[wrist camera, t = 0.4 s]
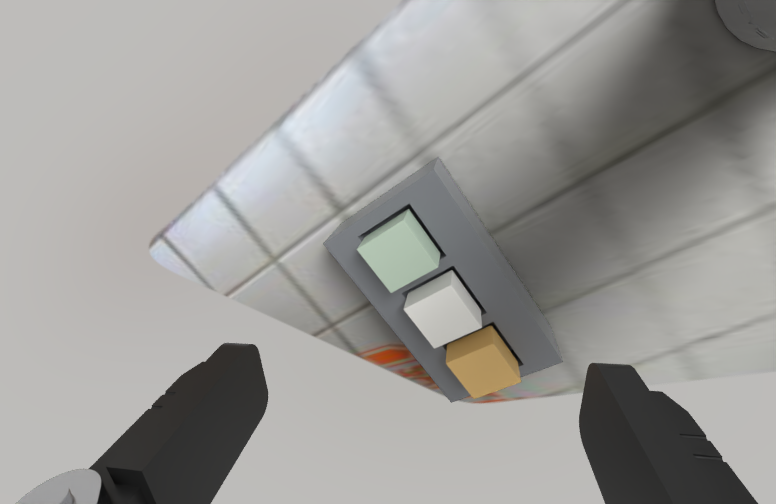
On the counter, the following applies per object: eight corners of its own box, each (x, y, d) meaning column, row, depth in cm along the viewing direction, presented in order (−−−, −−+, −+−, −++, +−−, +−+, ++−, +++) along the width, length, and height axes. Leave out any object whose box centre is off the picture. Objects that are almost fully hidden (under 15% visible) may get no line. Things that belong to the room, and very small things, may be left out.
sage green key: (408, 208, 23) (403, 219, 21) (440, 253, 24) (438, 267, 22) (364, 237, 24) (356, 249, 22) (396, 278, 25) (390, 293, 23)
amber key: (491, 324, 25) (493, 343, 23) (517, 361, 26) (521, 382, 24) (447, 344, 27) (445, 363, 25) (473, 378, 27) (473, 399, 26)
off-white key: (452, 269, 24) (450, 284, 22) (480, 310, 25) (481, 327, 23) (407, 293, 25) (403, 309, 24) (436, 330, 26) (434, 348, 25)
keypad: (438, 156, 25) (433, 169, 21) (551, 326, 29) (562, 361, 25) (341, 223, 28) (323, 243, 25) (452, 367, 32) (451, 402, 29)
